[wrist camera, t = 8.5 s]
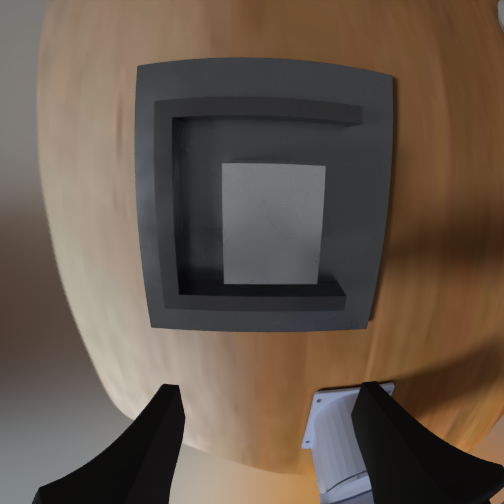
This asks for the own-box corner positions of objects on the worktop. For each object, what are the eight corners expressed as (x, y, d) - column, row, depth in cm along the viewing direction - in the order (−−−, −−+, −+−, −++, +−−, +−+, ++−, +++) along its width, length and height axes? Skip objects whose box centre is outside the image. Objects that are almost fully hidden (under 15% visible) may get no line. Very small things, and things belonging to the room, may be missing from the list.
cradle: (363, 322, 21) (376, 345, 18) (154, 321, 21) (142, 344, 18) (387, 77, 15) (408, 68, 12) (141, 68, 15) (124, 56, 12)
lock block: (296, 242, 18) (316, 283, 13) (231, 241, 18) (223, 283, 13) (300, 161, 17) (325, 166, 11) (231, 159, 17) (222, 163, 11)
